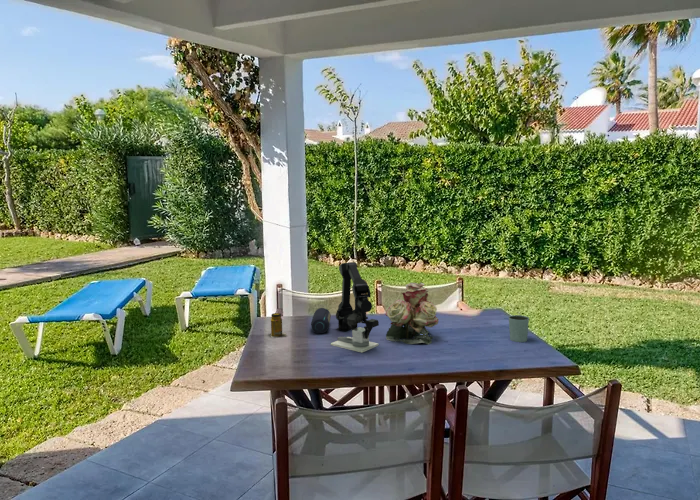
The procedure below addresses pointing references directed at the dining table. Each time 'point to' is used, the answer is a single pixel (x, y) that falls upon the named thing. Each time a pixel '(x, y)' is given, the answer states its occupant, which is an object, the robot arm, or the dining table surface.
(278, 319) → the condiment
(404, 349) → the dining table surface
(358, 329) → the brushed grey cube
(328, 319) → the portable speaker
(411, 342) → the rose bouquet
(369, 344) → the board
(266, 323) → the dining table surface
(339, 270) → the robot arm
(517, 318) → the green cup
